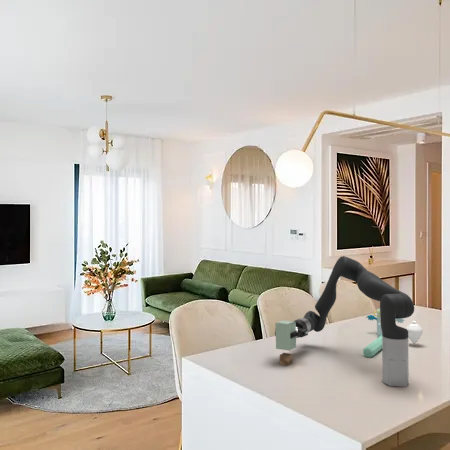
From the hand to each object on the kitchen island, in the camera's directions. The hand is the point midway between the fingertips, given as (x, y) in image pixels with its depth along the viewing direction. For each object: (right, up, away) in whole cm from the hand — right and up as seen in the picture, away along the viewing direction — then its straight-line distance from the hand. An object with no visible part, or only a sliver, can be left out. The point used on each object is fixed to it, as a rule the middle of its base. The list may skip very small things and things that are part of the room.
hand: (283, 334), depth 199 cm
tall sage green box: (+1, -6, +2) cm, 6 cm away
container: (+45, -13, +20) cm, 51 cm away
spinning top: (+67, -12, +29) cm, 74 cm away
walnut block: (+1, -13, +2) cm, 13 cm away
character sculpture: (+60, -12, +50) cm, 79 cm away
